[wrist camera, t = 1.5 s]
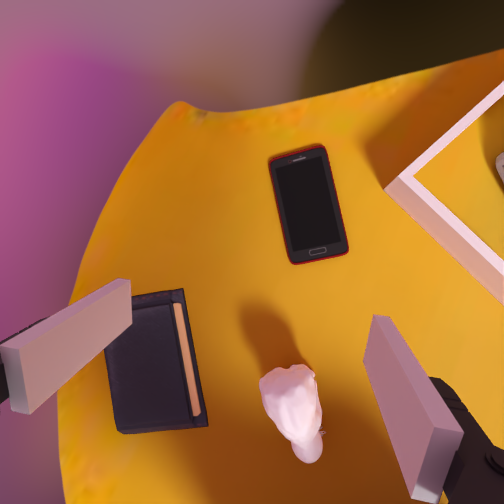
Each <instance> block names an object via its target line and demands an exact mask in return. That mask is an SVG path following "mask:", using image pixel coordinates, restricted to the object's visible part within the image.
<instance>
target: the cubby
mask: <svg viewBox="0 0 504 504" xmlns="http://www.w3.org/2000/svg"><path fill="white" fill-rule="evenodd" d="M503 95H504V81H503V82H502V83H501V84H500V85H499V86H498V87H496V88H495V89H494V90H493V91H492V92H491V93H490V94H489V95H487V96H486V97H485V98H484V99H483V100H482V101H481V102H480V103H479V104H477V105H476V106H475V107H474V108H473V109H472V110H471V111H470V112H468V113H467V114H466V115H465V116H464V117H463V118H462V119H461V120H460V121H458V122H457V123H456V124H455V125H454V126H453V127H452V128H451V129H449V130H448V131H447V132H446V133H445V134H444V135H443V136H442V137H441V138H439V139H438V140H437V141H436V142H435V143H434V144H433V145H432V146H430V147H429V148H428V149H427V150H426V151H425V152H424V153H423V154H422V155H420V156H419V157H418V158H417V159H416V160H415V161H414V162H413V163H411V164H410V165H409V166H408V167H407V168H406V169H405V170H404V171H403V172H401V173H400V174H399V175H398V176H397V177H396V178H395V179H394V180H393V181H392V182H391V183H390V184H389V185H388V186H387V187H386V188H384V189H383V190H384V191H385V192H386V193H387V194H388V195H389V196H390V197H391V198H392V199H393V200H394V201H395V202H396V203H397V204H398V205H399V206H400V207H401V208H402V209H404V210H405V211H406V212H407V213H408V214H409V215H410V216H411V217H412V218H413V219H414V220H415V221H416V222H417V223H418V224H419V225H420V226H421V227H422V228H423V229H424V230H425V231H426V232H427V233H428V234H429V235H431V236H432V237H433V238H434V239H435V240H436V241H437V242H438V243H439V244H440V245H441V246H442V247H443V248H444V249H445V250H446V251H447V252H448V253H449V254H450V255H451V256H452V257H453V258H454V259H455V260H456V261H458V262H459V263H460V264H461V265H462V266H463V267H464V268H465V269H466V270H467V271H468V272H469V273H470V274H471V275H472V276H473V277H474V278H475V279H476V280H477V281H478V282H479V283H480V284H481V285H482V286H483V287H485V288H486V289H487V290H488V291H489V292H490V293H491V294H492V295H493V296H494V297H495V298H496V299H497V300H498V301H499V302H500V303H501V304H502V305H503V306H504V261H503V260H502V259H501V258H500V257H499V256H498V255H497V254H496V253H495V252H494V251H492V250H491V249H490V248H489V247H488V246H487V245H486V244H485V243H484V242H483V241H482V240H481V239H480V238H479V237H477V236H476V235H475V234H474V233H473V232H472V231H471V230H470V229H469V228H468V227H467V226H466V225H465V224H463V223H462V222H461V221H460V220H459V219H458V218H457V217H456V216H455V215H454V214H453V213H452V212H451V211H450V210H448V209H447V208H446V207H445V206H444V205H443V204H442V203H441V202H440V201H439V200H438V199H437V198H436V197H435V196H433V195H432V194H431V193H430V192H429V191H428V190H427V189H426V188H425V187H424V186H423V185H422V184H421V183H419V182H418V181H417V180H416V179H415V178H414V177H413V175H414V174H415V173H416V172H417V171H418V170H419V169H421V168H422V167H423V166H424V165H425V164H426V163H427V162H428V161H430V160H431V159H432V158H433V157H434V156H435V155H436V154H437V153H439V152H440V151H441V150H442V149H443V148H444V147H445V146H446V145H448V144H449V143H450V142H451V141H452V140H453V139H454V138H456V137H457V136H458V135H459V134H460V133H461V132H462V131H463V130H465V129H466V128H467V127H468V126H469V125H470V124H471V123H472V122H474V121H475V120H476V119H477V118H478V117H479V116H480V115H481V114H483V113H484V112H485V111H486V110H487V109H488V108H489V107H490V106H492V105H493V104H494V103H495V102H496V101H497V100H498V99H499V98H501V97H502V96H503Z"/></svg>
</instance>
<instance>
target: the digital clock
mask: <svg viewBox="0 0 504 504" xmlns="http://www.w3.org/2000/svg"><path fill="white" fill-rule="evenodd" d="M496 169H497V171H498V173H499V175H500V177H501V179H502V181H503V183H504V152H503V153H501V154H500V155H498V156H497V158H496Z"/></svg>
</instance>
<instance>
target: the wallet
mask: <svg viewBox="0 0 504 504" xmlns="http://www.w3.org/2000/svg"><path fill="white" fill-rule="evenodd" d="M131 305H132V324H131V325H130V326H129V327H128V328H127V329H126V330H124V331H123V332H122V333H121V334H120V335H119V336H118V337H117V338H115V339H114V340H113V341H112V342H111V343H110V344H109V345H108V346H106V347H105V348H104V354H105V359H106V365H107V371H108V378H109V385H110V391H111V398H112V405H113V412H114V420H115V424H116V427H117V431H119V432H121V433H122V434H138V433H147V432H155V431H165V430H177V429H189V428H197V427H208V419H207V412H206V407H205V402H204V398H203V393H202V388H201V383H200V377H199V372H198V366H197V361H196V355H195V350H194V345H193V339H192V334H191V328H190V323H189V317H188V312H187V307H186V301H185V296H184V290H183V288H181V289H176V290H169V291H160V292H155V293H149V294H143V295H138V296H132V297H131Z"/></svg>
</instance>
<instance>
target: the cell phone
mask: <svg viewBox="0 0 504 504" xmlns="http://www.w3.org/2000/svg"><path fill="white" fill-rule="evenodd" d="M326 154H327V151H326V148H325V147H324V146H321V145H319V146H314V147H311V148H307V149H304V150H300V151H297V152H293V153H290V154H286V155H283V156H279V157H276V158H273V159H272V160H271V161H270V163H269V168H270V173H271V178H272V183H274V184H273V188H274V192H276V193H275V197H276V202H277V206H278V211H279V216H280V220H281V225H282V229H283V234H284V239H285V243H287V244H286V248H287V253H288V257H289V260H290V262H291V263H292V264H293V265H299V264H305V263H310V262H315V261H319V260H324V259H329V258H334V257H339V256H343V255H345V254H347V253H348V251H349V246H348V240H347V236H346V232H345V227H344V223H343V219H342V214H341V210H340V205H339V201H338V197H337V192H336V188H335V184H334V179H333V175H332V171H331V166H330V162H329V158H328V154H327V155H326ZM334 188H335V189H334ZM337 201H338V202H337ZM342 223H343V224H342ZM347 247H348V249H347Z"/></svg>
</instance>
